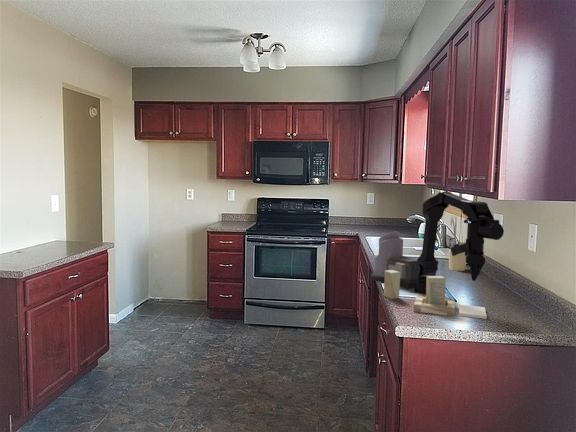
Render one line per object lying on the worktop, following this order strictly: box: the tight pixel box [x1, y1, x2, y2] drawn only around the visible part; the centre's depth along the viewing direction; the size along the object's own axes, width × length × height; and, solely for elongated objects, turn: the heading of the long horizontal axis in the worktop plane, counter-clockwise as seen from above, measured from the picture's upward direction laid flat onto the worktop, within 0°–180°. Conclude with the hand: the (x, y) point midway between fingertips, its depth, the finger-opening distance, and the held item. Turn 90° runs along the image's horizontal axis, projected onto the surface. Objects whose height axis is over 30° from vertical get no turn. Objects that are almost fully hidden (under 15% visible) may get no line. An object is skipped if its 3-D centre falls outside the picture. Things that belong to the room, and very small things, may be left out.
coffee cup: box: [448, 248, 467, 272], centre depth 239 cm, size 9×9×12 cm
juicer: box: [370, 231, 418, 290], centre depth 209 cm, size 30×16×24 cm, turn 26°
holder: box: [413, 295, 456, 317], centre depth 167 cm, size 14×14×2 cm
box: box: [383, 270, 401, 299], centre depth 182 cm, size 5×4×11 cm
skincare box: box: [425, 275, 446, 306], centre depth 167 cm, size 6×4×12 cm
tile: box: [458, 304, 488, 320], centre depth 163 cm, size 12×9×1 cm
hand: (473, 279), depth 162 cm, fingers open, 5 cm apart
